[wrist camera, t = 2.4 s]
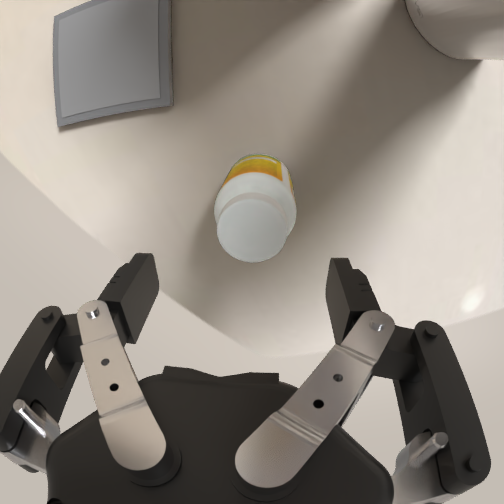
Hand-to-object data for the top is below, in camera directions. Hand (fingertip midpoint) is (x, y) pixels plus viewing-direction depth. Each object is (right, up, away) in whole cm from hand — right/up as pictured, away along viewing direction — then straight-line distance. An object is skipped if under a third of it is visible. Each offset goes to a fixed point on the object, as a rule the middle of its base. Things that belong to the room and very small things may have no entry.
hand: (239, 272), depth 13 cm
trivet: (-12, +18, +6) cm, 23 cm away
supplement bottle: (+1, +7, +12) cm, 14 cm away
